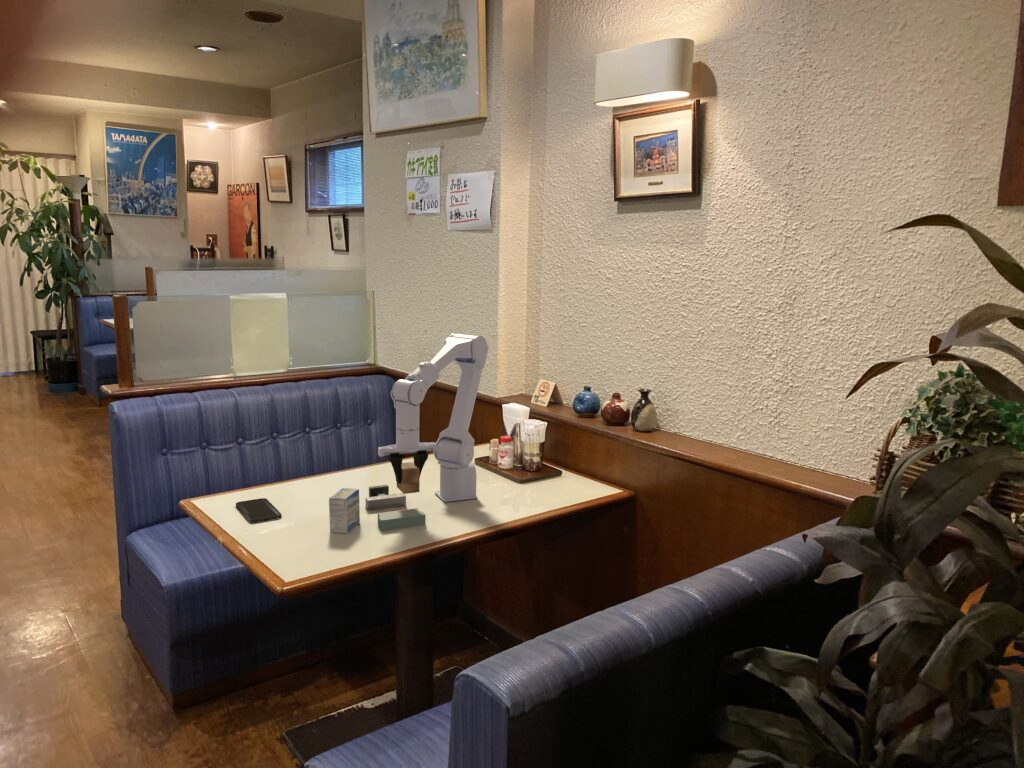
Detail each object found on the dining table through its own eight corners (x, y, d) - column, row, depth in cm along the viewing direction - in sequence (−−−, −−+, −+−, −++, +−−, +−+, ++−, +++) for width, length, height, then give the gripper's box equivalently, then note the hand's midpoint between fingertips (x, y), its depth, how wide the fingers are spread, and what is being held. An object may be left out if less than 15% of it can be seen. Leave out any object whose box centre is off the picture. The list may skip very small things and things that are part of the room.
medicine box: (347, 534, 179) (346, 499, 178) (329, 532, 180) (328, 497, 179) (360, 522, 187) (359, 488, 185) (343, 521, 188) (342, 487, 186)
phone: (265, 497, 201) (282, 515, 189) (265, 501, 201) (282, 519, 189) (234, 502, 197) (249, 520, 184) (234, 506, 197) (250, 525, 185)
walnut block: (411, 484, 195) (411, 462, 193) (419, 492, 189) (419, 468, 188) (396, 486, 193) (396, 463, 192) (403, 493, 188) (403, 470, 186)
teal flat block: (419, 517, 191) (419, 508, 191) (425, 524, 187) (425, 514, 186) (375, 523, 187) (375, 513, 186) (381, 530, 182) (381, 520, 182)
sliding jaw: (396, 494, 208) (396, 483, 207) (406, 505, 200) (405, 493, 199) (359, 499, 203) (359, 487, 203) (368, 510, 195) (367, 498, 195)
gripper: (383, 434, 182) (383, 489, 184) (441, 429, 188) (440, 482, 190) (375, 427, 188) (375, 480, 190) (431, 423, 194) (431, 474, 197)
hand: (407, 481), depth 191 cm, fingers closed on walnut block, 4 cm apart
